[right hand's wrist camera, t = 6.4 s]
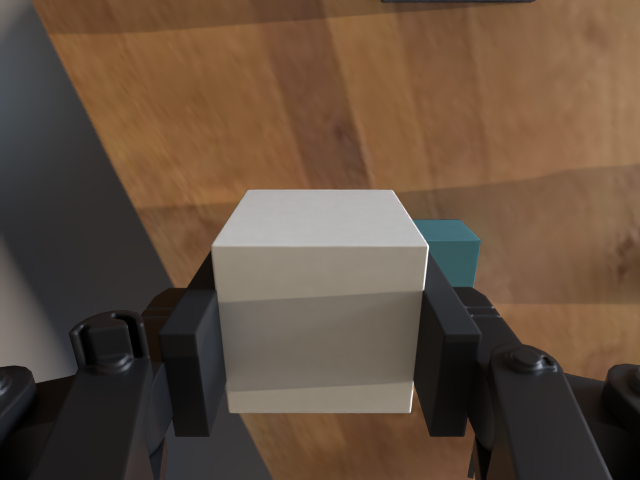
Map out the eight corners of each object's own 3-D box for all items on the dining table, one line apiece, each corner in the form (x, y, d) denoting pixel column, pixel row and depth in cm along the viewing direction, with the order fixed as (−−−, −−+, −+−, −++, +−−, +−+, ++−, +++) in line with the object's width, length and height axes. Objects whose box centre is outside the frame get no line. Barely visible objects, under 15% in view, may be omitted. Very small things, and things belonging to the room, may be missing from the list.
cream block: (392, 189, 14) (429, 245, 9) (383, 314, 16) (410, 413, 11) (247, 189, 14) (209, 245, 9) (255, 314, 16) (228, 413, 11)
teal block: (460, 219, 36) (481, 240, 31) (453, 270, 38) (472, 296, 33) (404, 219, 36) (416, 240, 31) (399, 270, 38) (411, 296, 33)
